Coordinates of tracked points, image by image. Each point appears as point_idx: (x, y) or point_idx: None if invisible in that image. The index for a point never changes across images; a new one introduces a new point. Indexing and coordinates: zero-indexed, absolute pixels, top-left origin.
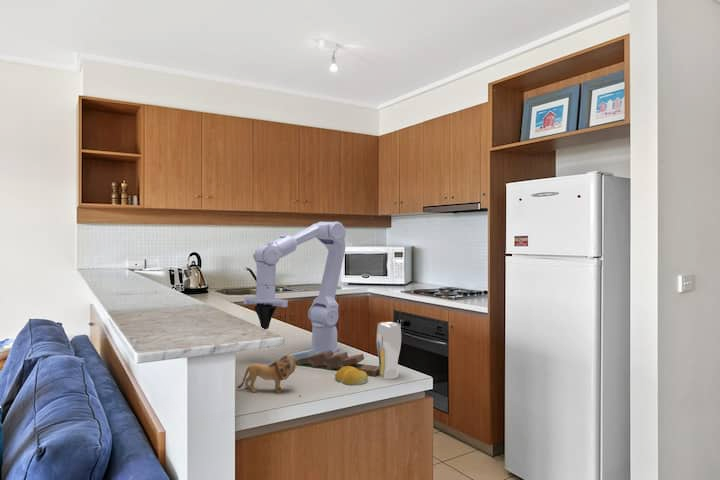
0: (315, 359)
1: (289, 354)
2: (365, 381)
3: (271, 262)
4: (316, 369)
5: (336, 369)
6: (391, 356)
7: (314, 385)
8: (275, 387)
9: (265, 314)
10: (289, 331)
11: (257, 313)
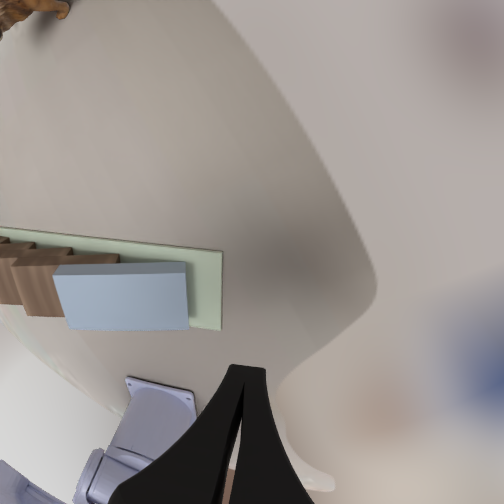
0: (45, 259)
1: (176, 322)
2: None
3: None
4: (54, 234)
5: None
6: None
7: (8, 101)
8: (66, 3)
9: (175, 459)
10: (333, 484)
11: (287, 478)
